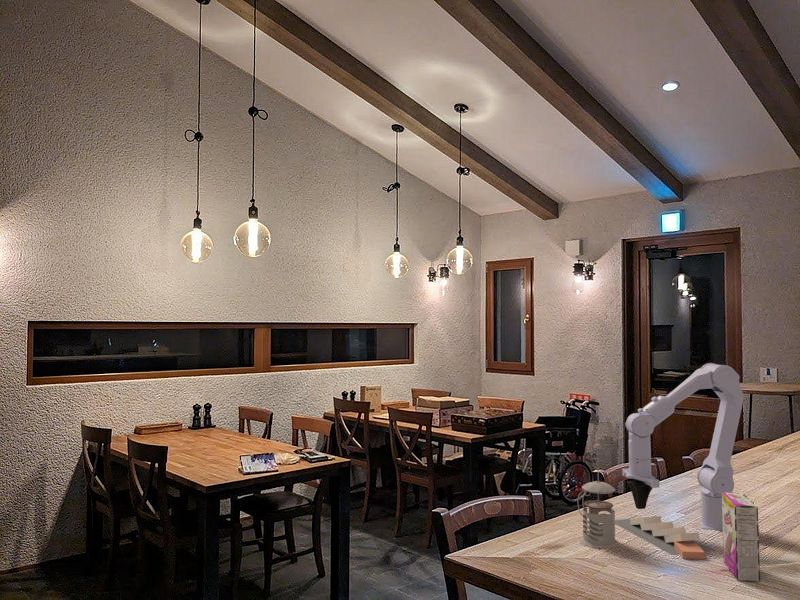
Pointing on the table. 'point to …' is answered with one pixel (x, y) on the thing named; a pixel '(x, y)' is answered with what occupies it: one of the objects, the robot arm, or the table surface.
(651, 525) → the domino
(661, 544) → the slate mat
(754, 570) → the candy bar box
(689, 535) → the domino
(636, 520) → the domino
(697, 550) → the domino
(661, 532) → the domino
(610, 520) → the french press
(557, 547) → the table surface
